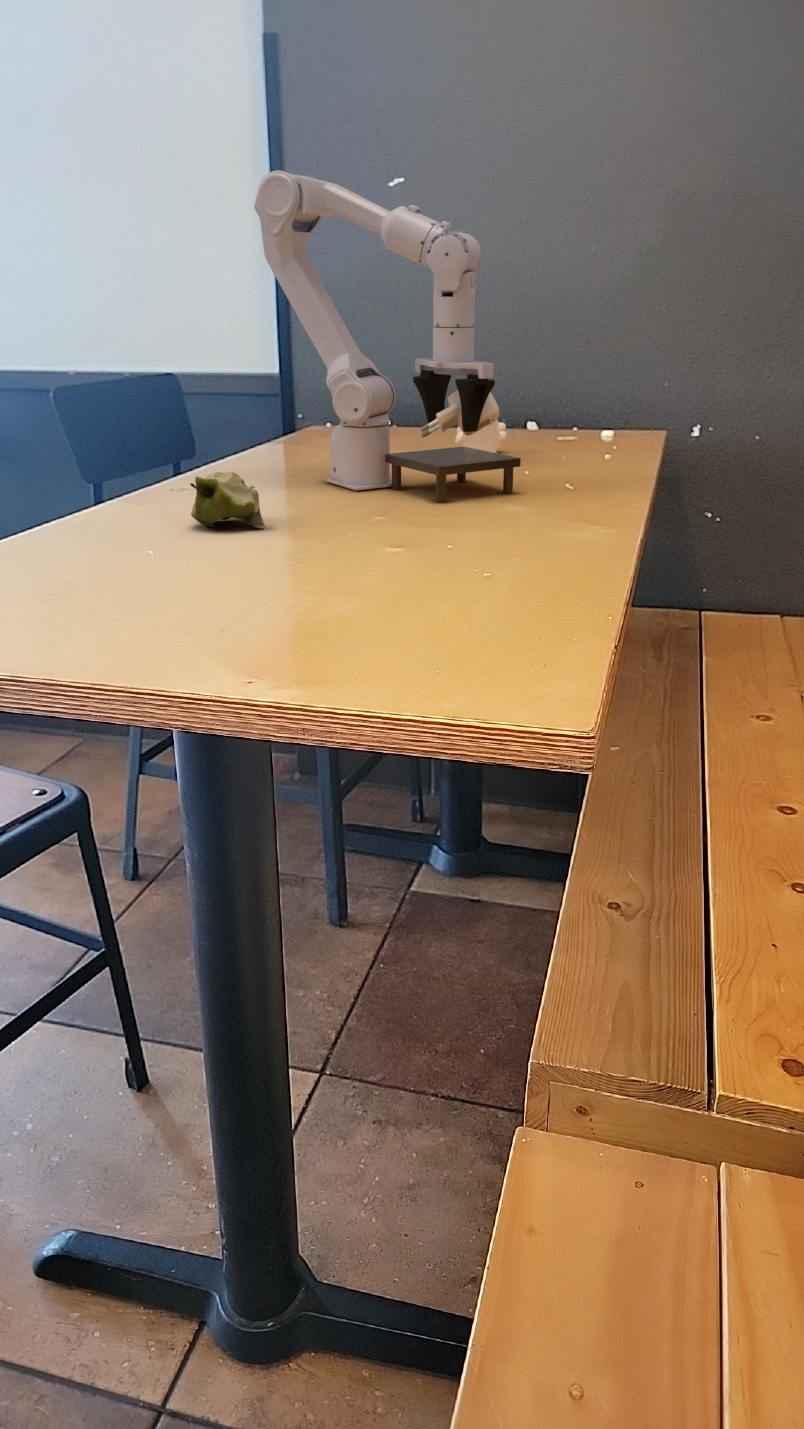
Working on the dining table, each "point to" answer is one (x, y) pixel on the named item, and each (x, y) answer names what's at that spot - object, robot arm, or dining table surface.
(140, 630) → the dining table surface
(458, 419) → the power adapter
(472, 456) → the stool
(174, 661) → the dining table surface
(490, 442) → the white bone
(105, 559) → the dining table surface
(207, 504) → the fruit
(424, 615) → the dining table surface
